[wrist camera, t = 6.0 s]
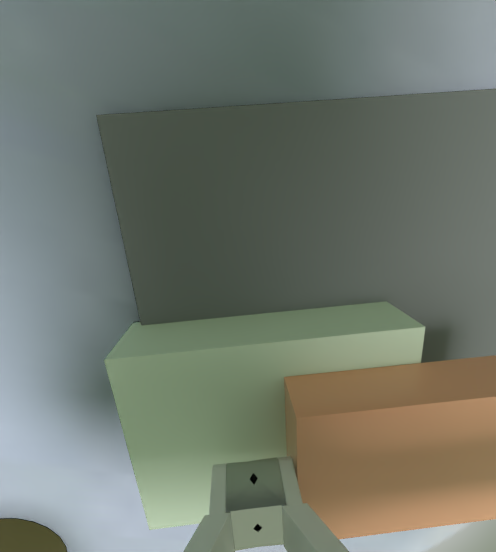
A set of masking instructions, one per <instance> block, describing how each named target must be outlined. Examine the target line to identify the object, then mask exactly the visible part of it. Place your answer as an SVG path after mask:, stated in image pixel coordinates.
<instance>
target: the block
mask: <svg viewBox="0 0 496 552" xmlns="http://www.w3.org/2000/svg"><path fill="white" fill-rule="evenodd" d="M284 393H285V421H286V449H287V456H291V458H292V460H293V464H294V469H295V473H296V477H297V481H298V485H299V489H300V493H301V498H302V502H303V503H307V504H308V505H309V506H310V507H311V508H312V509H313V511H314V512H315V513H316V514H317V515H318V516H319V517H320V519H321V520H322V521H323V522H324V523H325V524H326V526H327V527H328V528H329V529H330V530H331V531H332V532H333V534H334V535H335V536H336V537H337V538H338V539H345V538H353V537H360V536H368V535H376V534H383V533H391V532H399V531H407V530H414V529H422V528H430V527H437V526H445V525H453V524H461V523H468V522H476V521H484V520H491V519H496V355H494V356H484V357H474V358H464V359H455V360H445V361H435V362H425V363H415V364H405V365H396V366H386V367H376V368H366V369H356V370H347V371H337V372H327V373H317V374H307V375H298V376H288V377H284Z"/></svg>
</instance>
